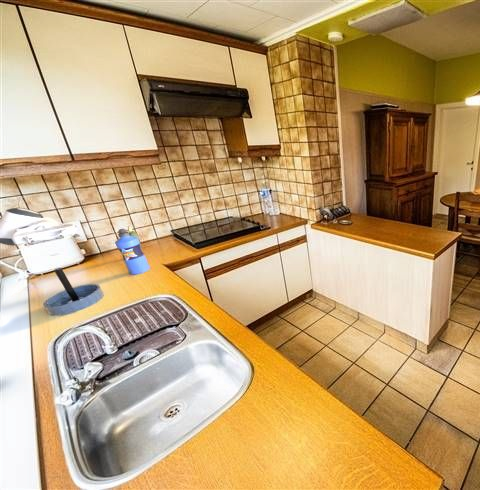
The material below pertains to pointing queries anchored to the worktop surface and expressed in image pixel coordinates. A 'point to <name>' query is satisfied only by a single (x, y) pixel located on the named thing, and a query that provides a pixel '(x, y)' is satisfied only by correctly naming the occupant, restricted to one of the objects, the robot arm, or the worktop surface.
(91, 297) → the blue grey round bowl
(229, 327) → the worktop surface
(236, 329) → the worktop surface
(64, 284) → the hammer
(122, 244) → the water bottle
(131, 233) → the vegetable
